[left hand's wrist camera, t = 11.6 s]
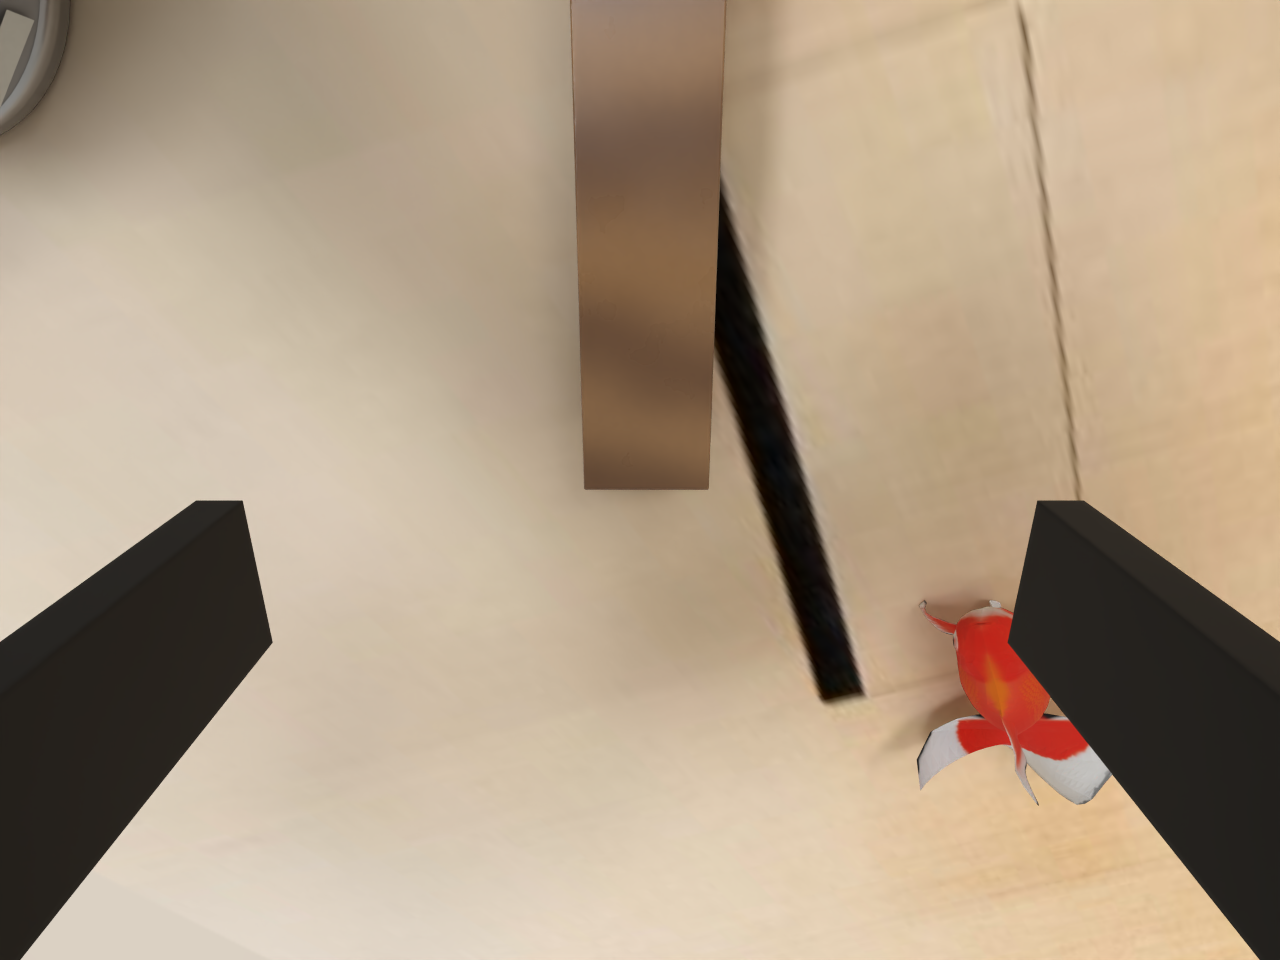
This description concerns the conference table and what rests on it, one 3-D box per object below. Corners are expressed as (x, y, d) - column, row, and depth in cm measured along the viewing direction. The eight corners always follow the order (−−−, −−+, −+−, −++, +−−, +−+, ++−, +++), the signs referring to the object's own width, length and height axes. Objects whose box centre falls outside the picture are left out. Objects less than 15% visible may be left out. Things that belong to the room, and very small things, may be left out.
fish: (1175, 547, 34) (1227, 763, 28) (1101, 700, 46) (1127, 878, 39) (923, 533, 38) (920, 722, 32) (912, 678, 49) (909, 839, 43)
